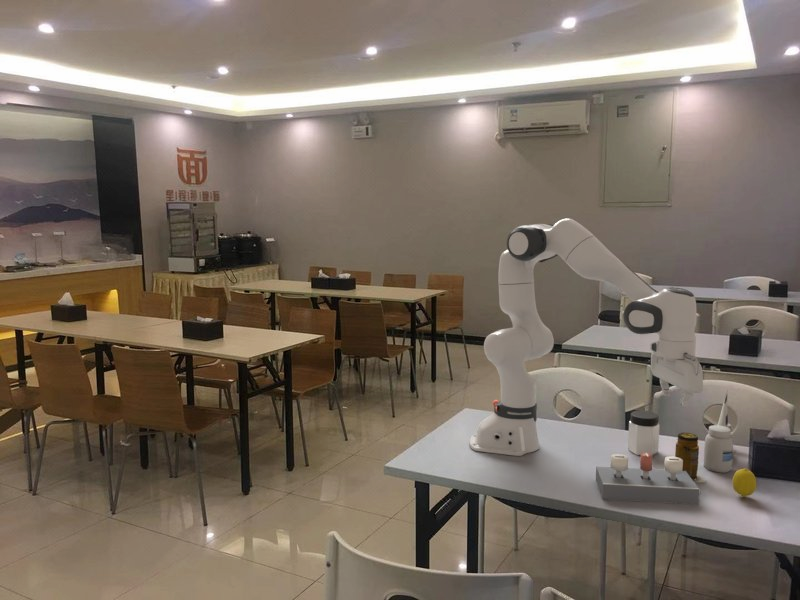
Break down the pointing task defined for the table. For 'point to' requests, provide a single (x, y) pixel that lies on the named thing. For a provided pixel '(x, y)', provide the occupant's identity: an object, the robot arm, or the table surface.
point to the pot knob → (646, 464)
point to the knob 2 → (673, 466)
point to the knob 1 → (619, 463)
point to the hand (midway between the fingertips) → (675, 400)
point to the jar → (643, 432)
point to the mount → (646, 486)
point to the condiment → (689, 454)
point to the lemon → (744, 482)
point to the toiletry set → (719, 444)
